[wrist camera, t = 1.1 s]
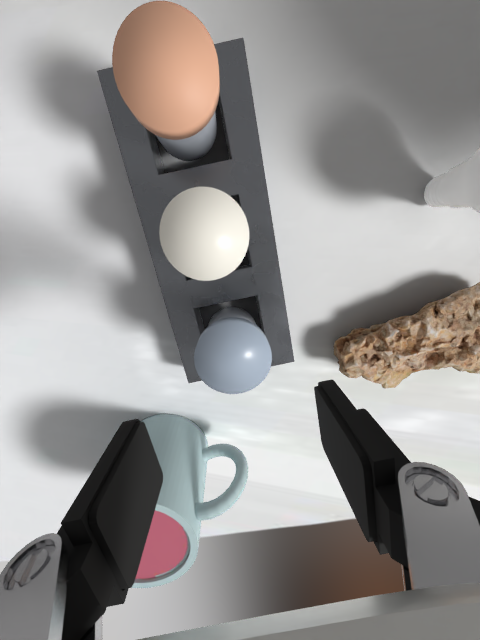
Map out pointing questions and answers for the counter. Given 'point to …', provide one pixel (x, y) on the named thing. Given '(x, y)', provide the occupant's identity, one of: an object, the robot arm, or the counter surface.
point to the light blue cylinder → (232, 352)
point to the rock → (416, 341)
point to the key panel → (228, 176)
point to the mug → (182, 497)
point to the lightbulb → (456, 186)
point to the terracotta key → (169, 76)
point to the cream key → (204, 233)
